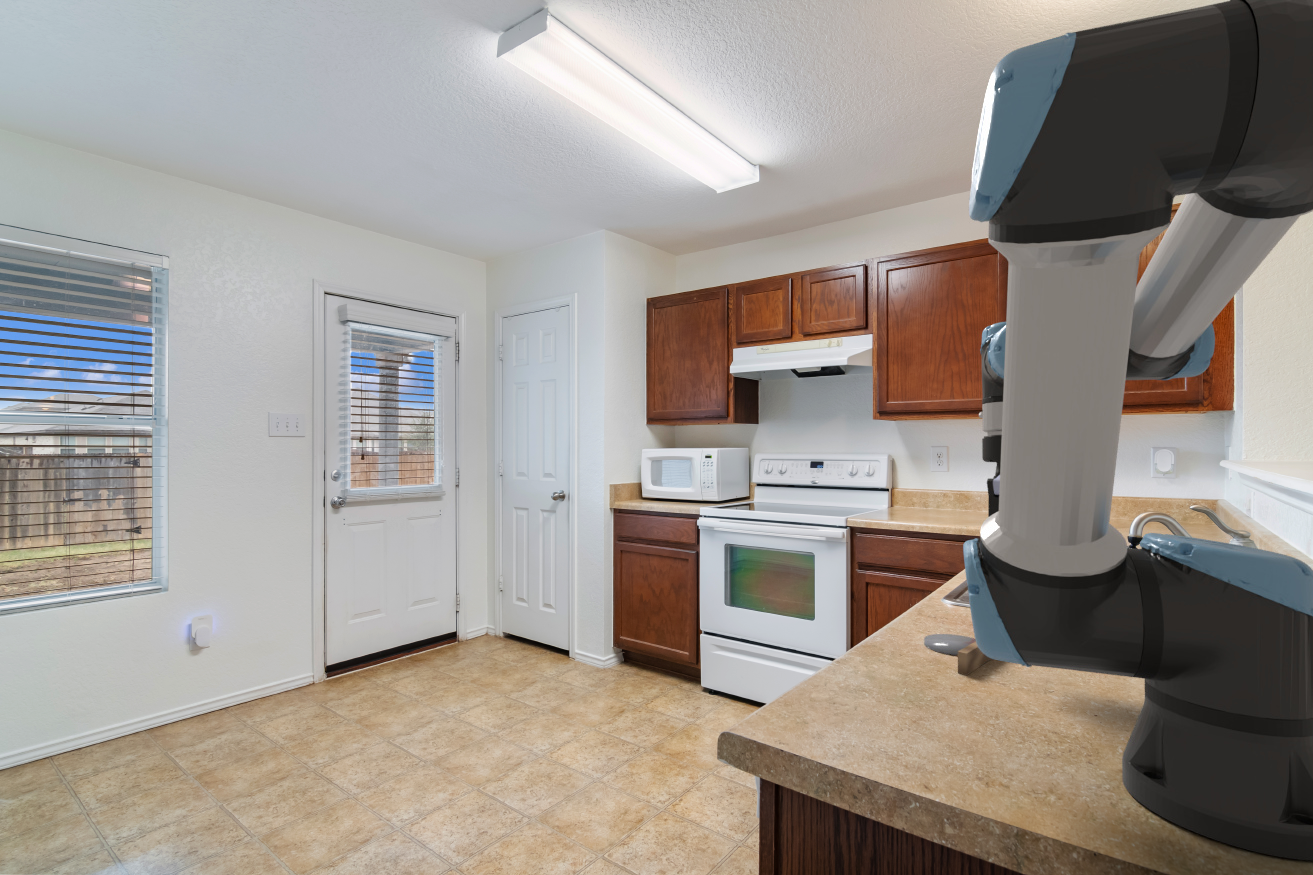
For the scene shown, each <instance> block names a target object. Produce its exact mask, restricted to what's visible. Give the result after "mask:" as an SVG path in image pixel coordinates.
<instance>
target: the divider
mask: <svg viewBox="0 0 1313 875" xmlns="http://www.w3.org/2000/svg"><path fill="white" fill-rule="evenodd" d="M991 660H993V659H992V658H989V657H987V656H986V655H985V654H984V653H982V652H981V650H980V649H979V648H978V646H977V644H976V641H975V642H974V643H972V644H970V645H968V646H967V647H965V648H963V649H961V650H959V651H958V656H957V673H958V674H961V675H964V676H965V675H966V676H967V675H970V674H971V673H972V672H974V671H975V670H977V669H979V668H981V666H983V665H985V664H986V663H988V662H989V661H991Z"/></svg>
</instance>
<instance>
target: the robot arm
mask: <svg viewBox="0 0 1313 875" xmlns="http://www.w3.org/2000/svg"><path fill="white" fill-rule="evenodd" d="M979 120H980V121H979V126H978V131H977V137H976V145H975V150H974V156H973V162H972V163H973V165H972V171H971V186H970V194H969V198H968V200H969V201H968V214H969V217H970V219H971V220H973V221H976V222H977V221H978V222H979V223H984V222H988V238H987V239H988V244H989V245H990V246H992V247H993V248H994V249H995V250H997V252H998V253H1000V254H1001V255H1002V256H1003V257H1004V258H1005V259H1006V260H1007V262H1008V270H1007V273H1008V274H1007V292H1006V293H1007V294H1006V297H1007V298H1006V317H1005V318H1006V320H1005V321H1001V322H996V323H993V324H992V325H988V326H986V327H985V328H984V329H983V330H982V334H981V345H980V349H979V351H980V355H981V386H982V388H981V389H982V391H981V392H982V399H981V404H982V407H981V408H982V411H980V412H979V413H978V417H979V418H980V419H982V431H983V432H984V433H987V434H986V435H985V436H983V438H982V440H981V444H982V446H981V449H982V451H981V452H982V456H981V457H982V461H983V462H986V463H996V466H995V472H994V474H995V475H994V476H993V477H992V478H989V477H988V478H987V481H986V486H987V493H988V494H987V496H988V506H987V507H988V514H987V515H988V516H987V518H986V519H985V520H983V523H982V524H981V526H980V532H979V538H976V537H975V538H974V539H968V540H966V541H965V542H964V543H963V545H962V551H963V561H964V571H965V572H964V573H965V578H966V585H967V590H968V591H967V592H968V600H969V609H970V615H971V617H970V618H971V621H972V622H971V623H972V628H973V633H974V639H975V640H976V644H977V646H978V648H979V649H980V650H981V652H982V653H984V654H985V655H986V656H987V657H989V658H992V659H991V660H996V661H1001V662H1006V663H1011V664H1016V665H1021V666H1022V667H1026V668H1032V666H1034V667H1043V668H1050V669H1051V668H1052V669H1062V670H1068V671H1069V670H1070V671H1077V672H1079V671H1080V672H1087V673H1096V674H1103V675H1110V676H1118V677H1119V676H1120V677H1129V678H1137V679H1144V700H1143V704H1142V707H1141V710H1140V712H1139V714H1138V717H1137V720H1136V721H1135V723H1134V726H1133V729H1132V731H1131V734H1130V735H1129V739H1128V741H1127V743H1126V746H1125V749H1124V750H1123V753H1122V759H1121V763H1122V765H1121V767H1122V768H1121V769H1122V771H1121V772H1122V783H1123V786H1124V787H1125V789H1126V790H1127V792H1128V793H1129V794H1130V795H1131V796H1132V797H1133V798H1134V799H1135V800H1136V801H1138V802H1139V803H1140V804H1141V805H1143V806H1144V807H1145V808H1147V809H1149V810H1150V811H1151V812H1153V813H1155V814H1157V815H1159V816H1160V817H1162V818H1163V819H1166V820H1168V821H1169V822H1171V823H1174V824H1175V825H1177V826H1179V827H1182V828H1183V829H1186V830H1189V831H1192V832H1193V833H1196V834H1199V835H1201V836H1204V837H1206V838H1209V839H1211V840H1215V841H1217V842H1221V843H1223V844H1226V845H1229V846H1232V847H1233V846H1234V847H1236V848H1240V849H1244V850H1248V851H1251V852H1255V853H1259V854H1264V855H1270V856H1274V857H1279V858H1284V859H1285V858H1287V859H1291V860H1292V859H1293V860H1304V861H1313V568H1312V567H1311V566H1309V565H1308V564H1307V563H1305V562H1304V561H1302V560H1301V559H1298V558H1296V557H1293V556H1289V555H1287V554H1283V553H1278V552H1274V551H1270V550H1266V549H1262V548H1256V547H1251V546H1245V545H1241V544H1240V545H1239V544H1233V543H1230V542H1229V543H1227V542H1222V541H1219V540H1218V541H1217V540H1212V539H1211V540H1210V539H1206V538H1205V539H1204V538H1198V537H1192V536H1184V535H1176V534H1168V533H1165V534H1164V533H1158V532H1148V533H1145V534H1144V535H1143V536H1142V539H1141V541H1140V542H1139V546H1140V547H1141V548H1128V544H1127V540H1126V538H1125V537H1124V535H1123V534H1122V533H1121V532H1120V531H1119V530H1118V529H1117V528H1116V527H1114V525H1112V524H1111V523H1110V519H1111V511H1112V502H1113V494H1114V493H1113V492H1114V486H1115V476H1116V466H1117V459H1118V450H1119V449H1118V448H1119V440H1120V432H1121V424H1122V423H1121V422H1122V413H1123V406H1124V397H1125V387H1126V381H1145V380H1153V381H1154V380H1156V381H1169V380H1173V379H1180V378H1181V379H1182V378H1183V379H1184V378H1194V377H1197V376H1200V375H1201V374H1203V373H1204V372H1205V371H1206V370H1207V369H1208V368H1209V366H1210V364H1211V359H1212V358H1213V356H1214V352H1215V348H1216V347H1215V346H1216V345H1215V344H1216V337H1215V329H1214V326H1213V325H1214V324H1213V322H1214V320H1215V319H1216V318H1217V317H1218V316H1219V315H1220V313H1221V312H1222V311H1223V309H1224V308H1225V307H1226V306H1227V305H1228V303H1230V301H1231V300H1232V299H1233V297H1234V296H1236V294H1238V291H1239V290H1240V289H1241V288H1242V287H1243V285H1244V284H1246V282H1247V281H1248V280H1249V279H1250V277H1251V276H1252V275H1253V273H1254V272H1255V271H1256V270H1257V269H1258V268H1259V266H1260V265H1261V264H1262V263H1263V262H1264V260H1265V259H1266V258H1267V257H1268V255H1269V254H1270V253H1271V251H1273V250H1274V249H1275V247H1276V245H1278V243H1279V242H1280V241H1281V240H1282V239H1283V238H1284V236H1286V234H1287V233H1288V231H1289V230H1290V229H1291V228H1292V227H1293V226H1294V224H1295V223H1296V222H1297V221H1298V220H1299V218H1300V217H1301V216H1306V215H1307V214H1309V213H1312V212H1313V0H1227V1H1223V2H1218V3H1213V4H1208V5H1205V6H1204V5H1203V6H1199V7H1194V8H1189V9H1185V10H1179V11H1174V12H1167V13H1163V14H1159V15H1158V14H1157V15H1153V16H1148V17H1142V18H1138V19H1134V20H1133V19H1132V20H1128V21H1123V22H1118V23H1113V24H1110V25H1103V26H1099V27H1093V28H1088V29H1081V30H1079V31H1073V32H1066V33H1065V34H1064V35H1063V34H1062V35H1060V36H1056V37H1052V38H1049V39H1047V40H1043V41H1040V42H1036V43H1033V44H1029V45H1027V46H1023V47H1022V46H1021V47H1020V48H1017V49H1015V50H1012V51H1011V52H1009V53H1008V54H1006V55H1004V57H1003V58H1001V60H999V61H998V63H997V64H996V66H995V67H994V69H993V70H992V72H991V74H990V78H989V80H988V84H987V87H986V90H985V95H984V100H983V104H982V110H981V115H980V119H979ZM1183 195H1185V196H1184V198H1183V200H1182V202H1181V204H1180V205H1179V207H1178V208H1177V211H1176V213H1175V214H1174V217H1173V219H1172V212H1173V211H1172V210H1173V203H1174V199H1175V198H1176V196H1183ZM1163 232H1165V233H1164V235H1163V236H1162V239H1161V241H1160V242H1159V244H1158V246H1157V248H1156V250H1155V252H1154V253H1153V255H1152V257H1151V259H1150V261H1149V262H1148V264H1147V266H1146V268H1145V271H1144V272H1143V274H1142V275H1141V278H1140V280H1139V281H1138V274H1139V264H1140V256H1141V253H1142V252H1143V250H1144V249H1145V247H1147V246H1148V245H1149V244H1151V242H1153V241H1154V240H1155V239H1156V238H1157V237H1159V236H1160V235H1161V234H1162V233H1163ZM1137 281H1138V283H1137Z"/></svg>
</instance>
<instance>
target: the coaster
mask: <svg viewBox="0 0 1313 875" xmlns="http://www.w3.org/2000/svg"><path fill="white" fill-rule="evenodd" d="M975 641H976V640H975V637H974V638H973V637H971V636H965V635H959V634H950V633H935V634H933V633H932V634H928V635H926V636H925V637H924V638H923V644H924V646H925V647H926V648H928V649H929V650H931V651H934V652H938V653H940V652H941V654H944V655H945V654H946V655H950V654H951V656H957V655H958V651H959V650H961V649H963V648H965V647H967V646H968V645H970V644H972V643H974V642H975Z"/></svg>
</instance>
